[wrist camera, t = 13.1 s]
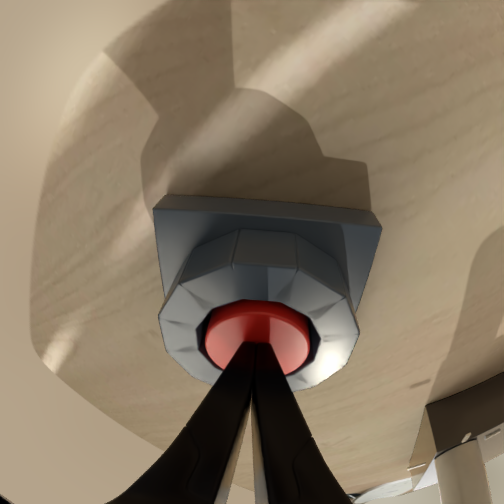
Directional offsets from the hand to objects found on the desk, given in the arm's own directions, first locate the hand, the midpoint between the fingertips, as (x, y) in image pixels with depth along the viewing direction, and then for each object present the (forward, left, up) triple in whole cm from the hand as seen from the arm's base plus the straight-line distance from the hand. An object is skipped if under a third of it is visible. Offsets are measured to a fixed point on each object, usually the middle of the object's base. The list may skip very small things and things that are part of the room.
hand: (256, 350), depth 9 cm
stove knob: (+15, -11, +1) cm, 19 cm away
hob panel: (+22, -15, -3) cm, 26 cm away
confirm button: (0, 0, -2) cm, 2 cm away
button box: (0, 0, -3) cm, 3 cm away
